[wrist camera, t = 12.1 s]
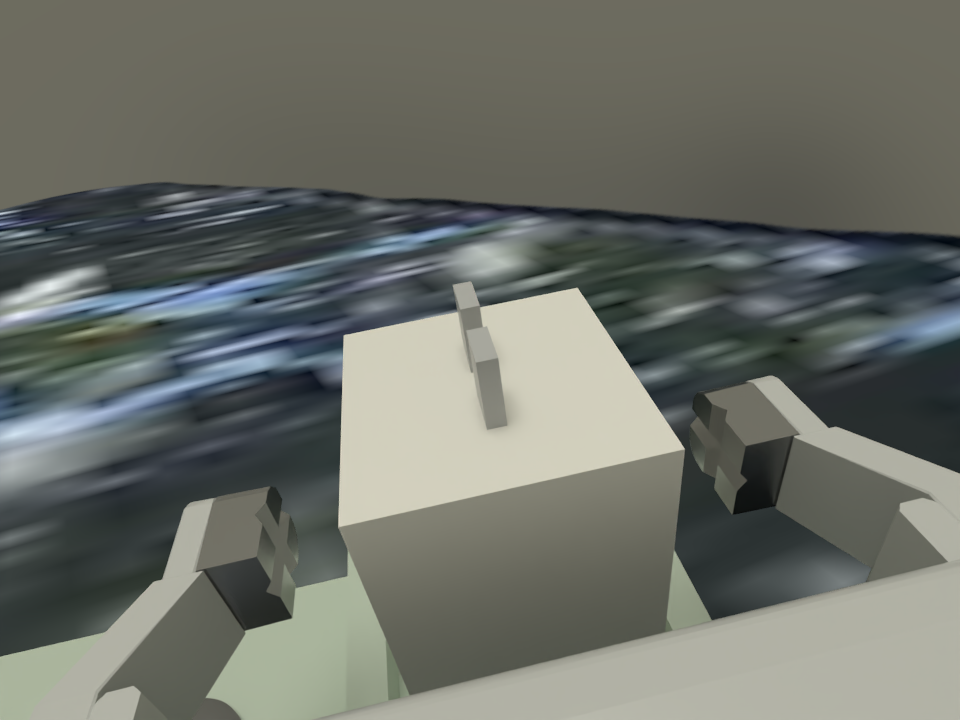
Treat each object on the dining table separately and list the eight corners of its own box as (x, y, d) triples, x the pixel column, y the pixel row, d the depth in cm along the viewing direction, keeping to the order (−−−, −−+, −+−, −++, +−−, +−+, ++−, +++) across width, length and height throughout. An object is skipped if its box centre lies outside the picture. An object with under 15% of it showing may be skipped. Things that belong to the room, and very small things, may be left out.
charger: (458, 811, 13) (309, 459, 7) (436, 624, 17) (326, 278, 10) (651, 760, 13) (692, 376, 7) (588, 588, 17) (575, 229, 10)
